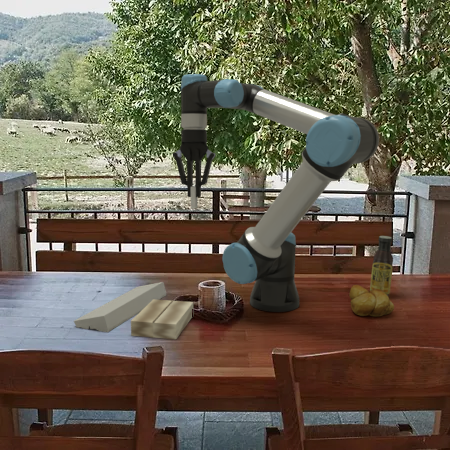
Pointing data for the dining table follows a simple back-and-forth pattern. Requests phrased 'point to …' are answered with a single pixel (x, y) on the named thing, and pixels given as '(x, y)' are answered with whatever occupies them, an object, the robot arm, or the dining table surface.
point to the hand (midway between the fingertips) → (194, 207)
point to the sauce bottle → (382, 266)
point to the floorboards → (162, 319)
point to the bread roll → (369, 302)
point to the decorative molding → (121, 308)
